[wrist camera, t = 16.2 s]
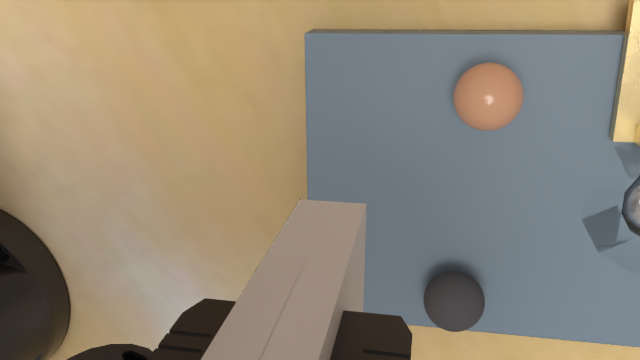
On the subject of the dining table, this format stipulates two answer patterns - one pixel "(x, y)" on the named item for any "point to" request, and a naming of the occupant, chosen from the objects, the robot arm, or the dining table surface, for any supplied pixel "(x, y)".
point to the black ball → (454, 301)
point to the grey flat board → (482, 175)
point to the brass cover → (628, 83)
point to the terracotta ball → (488, 96)
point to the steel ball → (632, 203)
